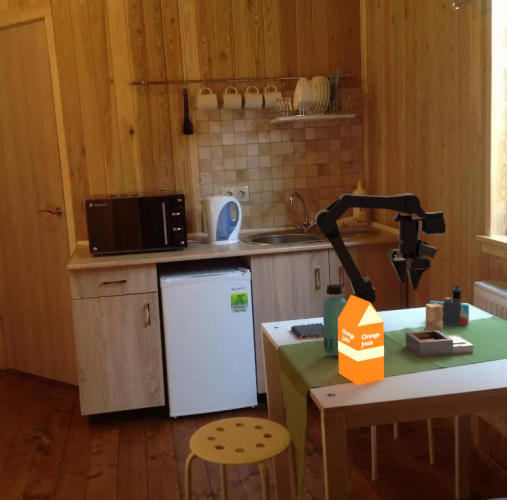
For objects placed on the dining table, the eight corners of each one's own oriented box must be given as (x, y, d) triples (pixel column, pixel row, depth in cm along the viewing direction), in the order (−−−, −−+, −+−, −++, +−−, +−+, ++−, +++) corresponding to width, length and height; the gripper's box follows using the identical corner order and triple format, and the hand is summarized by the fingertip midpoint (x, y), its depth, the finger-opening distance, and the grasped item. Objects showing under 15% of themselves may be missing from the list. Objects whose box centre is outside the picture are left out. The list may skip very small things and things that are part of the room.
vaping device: (461, 324, 195) (461, 287, 192) (444, 324, 195) (444, 287, 193) (460, 321, 197) (460, 284, 194) (442, 321, 198) (442, 285, 195)
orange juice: (357, 385, 152) (356, 304, 148) (338, 373, 160) (336, 296, 156) (384, 379, 155) (384, 300, 151) (364, 367, 163) (363, 292, 159)
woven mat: (333, 338, 189) (333, 331, 188) (298, 341, 187) (298, 335, 186) (322, 327, 199) (322, 321, 198) (290, 331, 197) (289, 325, 196)
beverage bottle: (350, 354, 173) (349, 283, 169) (343, 362, 167) (342, 288, 163) (328, 351, 176) (326, 281, 172) (320, 359, 170) (318, 287, 166)
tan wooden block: (430, 337, 184) (431, 307, 183) (425, 333, 188) (425, 304, 186) (441, 335, 185) (442, 306, 183) (436, 332, 188) (436, 303, 187)
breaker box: (420, 357, 168) (420, 343, 167) (405, 346, 177) (405, 332, 177) (473, 352, 171) (473, 337, 170) (456, 341, 180) (456, 327, 179)
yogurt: (429, 320, 201) (428, 301, 199) (430, 318, 202) (430, 300, 201) (467, 325, 194) (467, 305, 193) (468, 323, 196) (469, 304, 194)
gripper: (448, 238, 181) (447, 291, 184) (420, 229, 200) (420, 277, 202) (411, 241, 180) (411, 294, 182) (387, 231, 198) (387, 280, 201)
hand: (408, 286), depth 192 cm, fingers open, 9 cm apart
